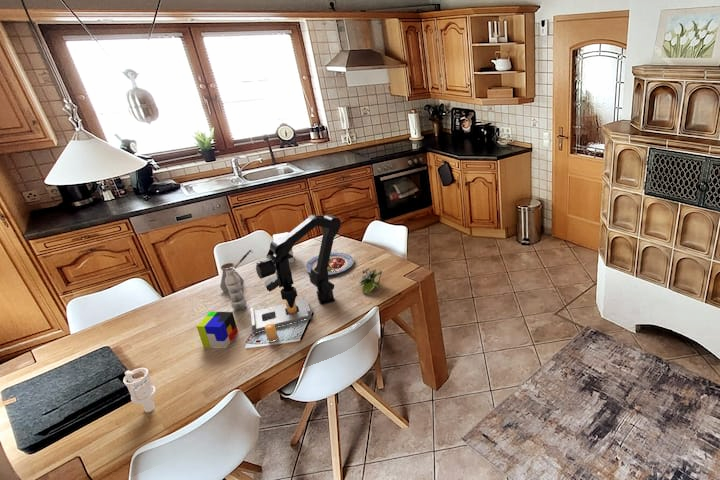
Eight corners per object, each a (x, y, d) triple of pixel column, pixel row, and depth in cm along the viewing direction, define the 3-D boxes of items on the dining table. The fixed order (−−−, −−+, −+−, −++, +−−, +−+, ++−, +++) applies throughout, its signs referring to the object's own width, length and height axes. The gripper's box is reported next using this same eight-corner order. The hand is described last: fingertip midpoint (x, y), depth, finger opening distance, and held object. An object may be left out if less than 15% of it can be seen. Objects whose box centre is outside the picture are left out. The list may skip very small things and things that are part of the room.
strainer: (149, 398, 134) (134, 363, 128) (166, 401, 132) (151, 366, 126) (132, 415, 128) (116, 379, 122) (150, 418, 126) (134, 382, 120)
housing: (306, 302, 180) (304, 294, 178) (311, 318, 167) (310, 310, 166) (252, 315, 174) (250, 308, 173) (254, 333, 162) (251, 325, 160)
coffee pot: (230, 297, 192) (223, 269, 186) (216, 291, 198) (209, 264, 192) (264, 277, 207) (258, 251, 201) (250, 272, 213) (244, 247, 207)
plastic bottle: (250, 305, 183) (240, 266, 175) (240, 313, 177) (230, 273, 169) (239, 303, 185) (229, 265, 177) (229, 311, 180) (218, 272, 172)
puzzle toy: (226, 348, 155) (220, 327, 151) (203, 347, 157) (196, 326, 153) (238, 332, 164) (232, 312, 160) (216, 331, 166) (210, 311, 162)
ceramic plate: (312, 256, 224) (311, 251, 223) (357, 254, 220) (356, 249, 219) (300, 279, 201) (299, 274, 200) (350, 277, 197) (349, 272, 196)
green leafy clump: (368, 295, 190) (371, 270, 192) (386, 297, 183) (389, 271, 185) (353, 292, 182) (356, 266, 184) (371, 294, 175) (375, 267, 177)
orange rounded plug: (277, 334, 159) (274, 322, 157) (278, 340, 156) (275, 328, 153) (267, 337, 159) (264, 325, 156) (268, 343, 155) (265, 330, 153)
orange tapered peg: (296, 310, 174) (294, 299, 172) (298, 315, 171) (295, 303, 168) (287, 313, 173) (285, 301, 171) (288, 318, 170) (286, 306, 167)
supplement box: (277, 258, 226) (272, 234, 220) (293, 255, 228) (288, 231, 222) (278, 265, 218) (273, 240, 212) (294, 262, 219) (289, 237, 213)
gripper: (261, 264, 170) (269, 296, 176) (265, 284, 153) (273, 318, 159) (287, 259, 172) (294, 290, 178) (294, 278, 156) (300, 311, 162)
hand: (290, 302), depth 169 cm, fingers open, 9 cm apart
